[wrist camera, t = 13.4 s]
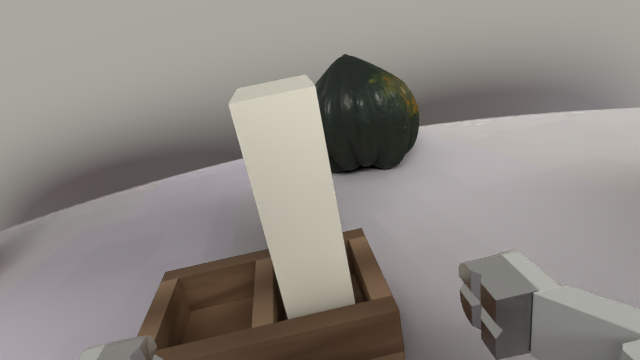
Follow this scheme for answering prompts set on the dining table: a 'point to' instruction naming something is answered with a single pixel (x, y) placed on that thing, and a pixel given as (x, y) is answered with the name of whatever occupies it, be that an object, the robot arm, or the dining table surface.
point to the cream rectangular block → (294, 192)
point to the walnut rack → (271, 313)
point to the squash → (365, 115)
